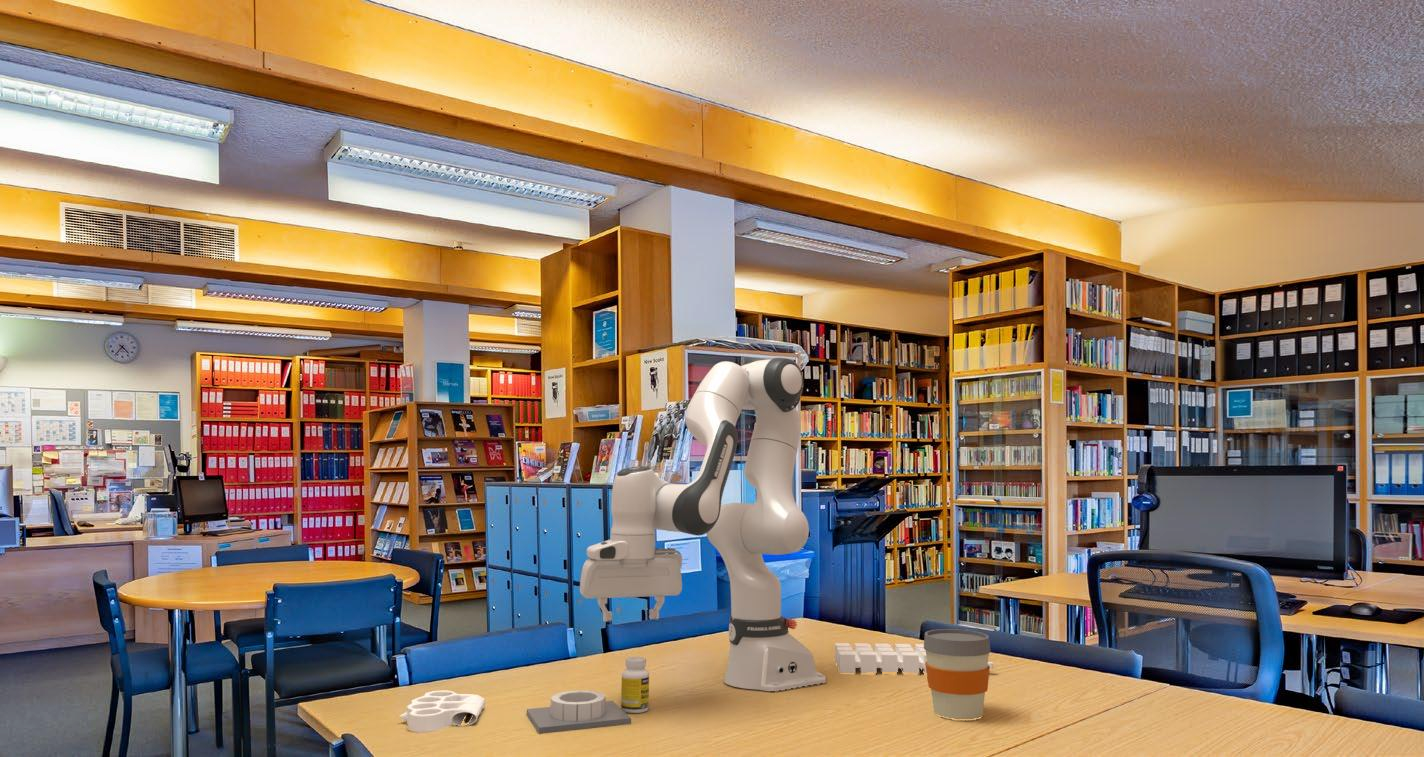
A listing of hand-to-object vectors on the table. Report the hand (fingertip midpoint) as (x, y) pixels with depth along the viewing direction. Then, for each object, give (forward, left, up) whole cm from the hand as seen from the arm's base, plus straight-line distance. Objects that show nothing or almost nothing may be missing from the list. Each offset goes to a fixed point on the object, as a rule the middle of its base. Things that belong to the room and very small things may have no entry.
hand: (630, 620), depth 177 cm
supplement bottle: (-1, 0, -18) cm, 18 cm away
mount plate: (+11, +2, -17) cm, 20 cm away
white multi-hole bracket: (+35, -8, -18) cm, 40 cm away
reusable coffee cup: (-58, +25, -18) cm, 66 cm away
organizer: (-72, -11, -18) cm, 75 cm away
